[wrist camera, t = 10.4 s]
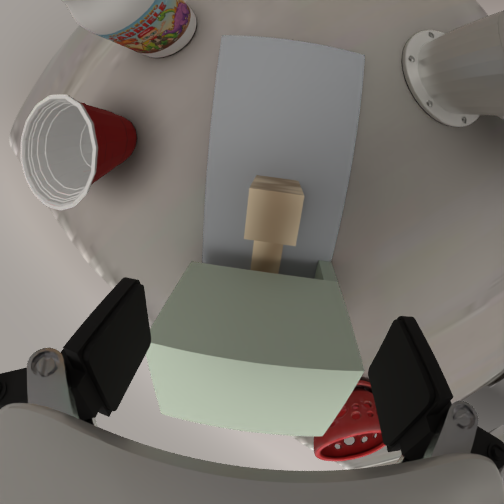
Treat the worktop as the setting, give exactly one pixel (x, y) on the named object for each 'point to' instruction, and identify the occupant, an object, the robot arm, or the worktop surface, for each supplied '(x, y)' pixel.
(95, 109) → the plastic cup
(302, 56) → the board
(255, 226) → the block
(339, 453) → the plant pot
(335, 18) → the worktop surface
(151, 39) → the milk bottle
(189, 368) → the shelf block
